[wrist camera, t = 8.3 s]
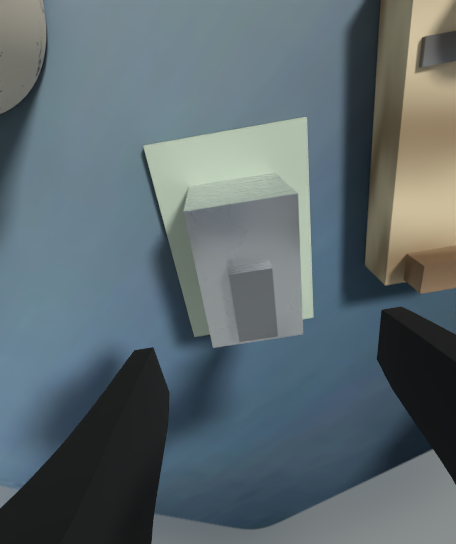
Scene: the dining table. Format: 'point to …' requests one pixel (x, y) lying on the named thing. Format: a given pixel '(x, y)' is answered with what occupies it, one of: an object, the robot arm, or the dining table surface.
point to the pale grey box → (247, 257)
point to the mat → (226, 166)
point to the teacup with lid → (20, 49)
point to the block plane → (414, 147)
